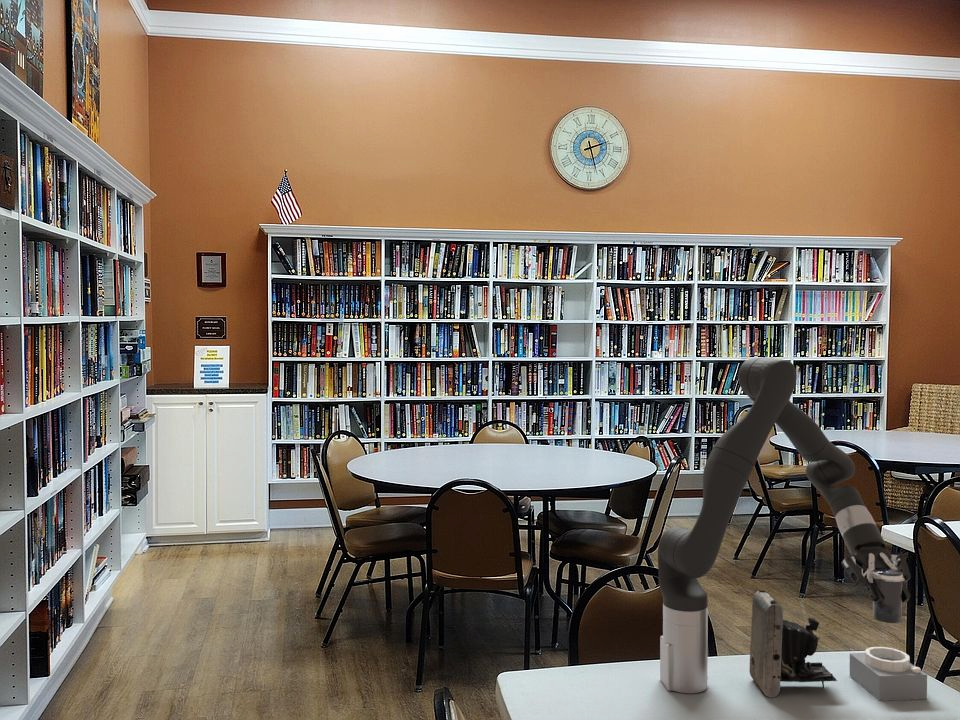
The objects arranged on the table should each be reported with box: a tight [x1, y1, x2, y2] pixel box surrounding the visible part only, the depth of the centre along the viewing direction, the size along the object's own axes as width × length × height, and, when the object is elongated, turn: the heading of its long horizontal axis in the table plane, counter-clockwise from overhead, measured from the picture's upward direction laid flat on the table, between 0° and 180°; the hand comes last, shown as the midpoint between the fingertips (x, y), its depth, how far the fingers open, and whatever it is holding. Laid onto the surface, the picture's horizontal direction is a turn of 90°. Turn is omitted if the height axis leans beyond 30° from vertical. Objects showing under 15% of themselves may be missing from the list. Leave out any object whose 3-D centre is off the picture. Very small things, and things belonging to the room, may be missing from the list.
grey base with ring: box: [849, 646, 928, 701], centre depth 173 cm, size 10×12×7 cm
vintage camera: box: [749, 589, 838, 698], centre depth 172 cm, size 10×16×20 cm, turn 89°
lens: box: [872, 568, 903, 624], centre depth 172 cm, size 6×6×10 cm
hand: (892, 601), depth 170 cm, fingers closed on lens, 5 cm apart
